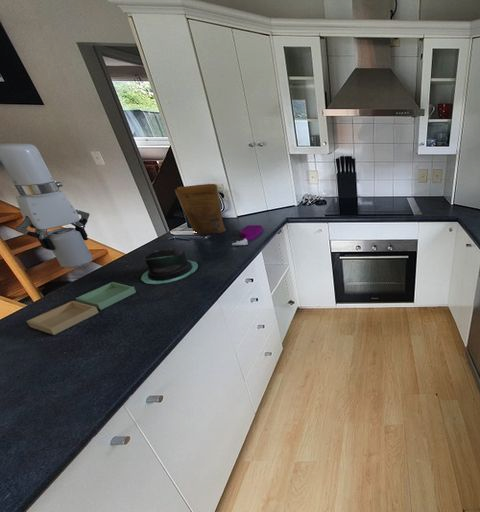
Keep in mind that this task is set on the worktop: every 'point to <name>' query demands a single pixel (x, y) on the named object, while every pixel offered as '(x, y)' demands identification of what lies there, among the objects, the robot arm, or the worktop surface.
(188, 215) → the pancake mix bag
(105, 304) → the far tray
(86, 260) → the can
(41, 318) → the near tray
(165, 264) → the black and teal hat
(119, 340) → the worktop surface
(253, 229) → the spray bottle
